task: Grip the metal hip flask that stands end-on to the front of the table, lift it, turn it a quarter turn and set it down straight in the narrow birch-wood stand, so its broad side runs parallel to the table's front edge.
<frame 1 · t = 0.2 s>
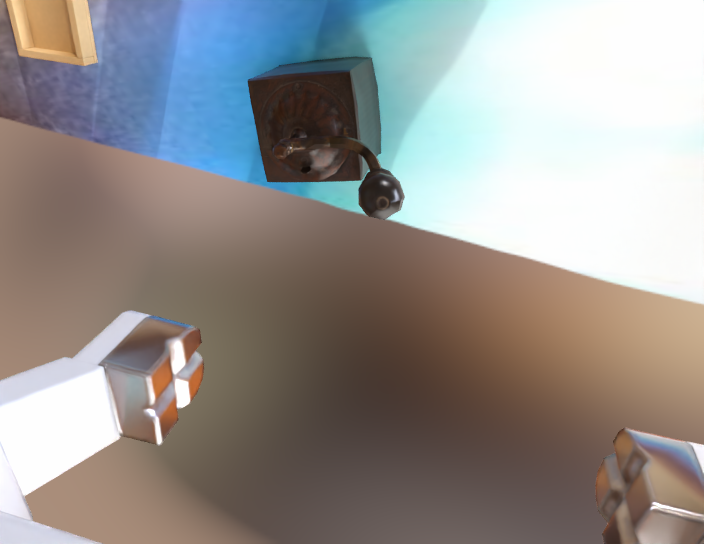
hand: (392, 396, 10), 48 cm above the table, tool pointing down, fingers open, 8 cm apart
dark brown coffee grinder: (354, 110, 56), on the table
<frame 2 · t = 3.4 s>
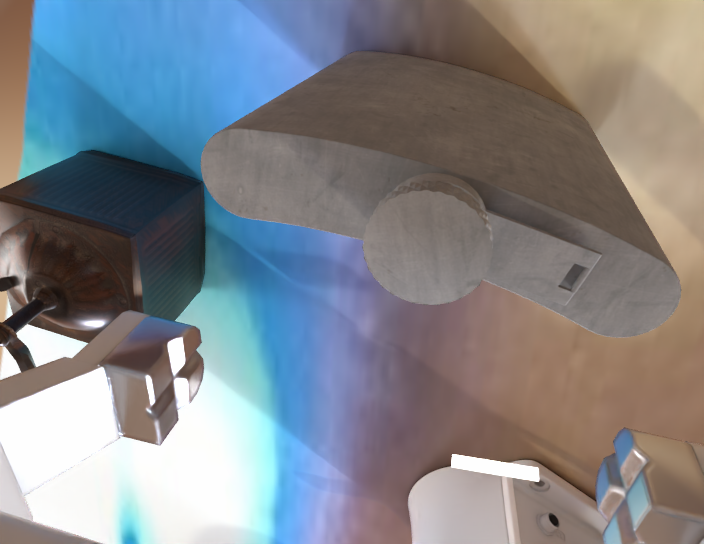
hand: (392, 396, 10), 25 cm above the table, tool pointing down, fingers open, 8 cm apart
hip flask: (462, 100, 31), on the table
dark brown coffee grinder: (146, 247, 43), on the table
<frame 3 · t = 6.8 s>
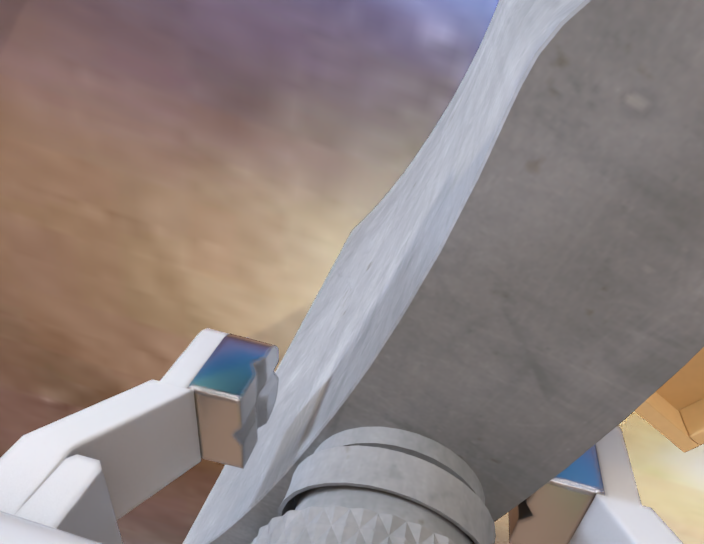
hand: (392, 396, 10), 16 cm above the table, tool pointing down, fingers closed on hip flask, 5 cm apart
hip flask: (455, 149, 23), on the table, touching gripper
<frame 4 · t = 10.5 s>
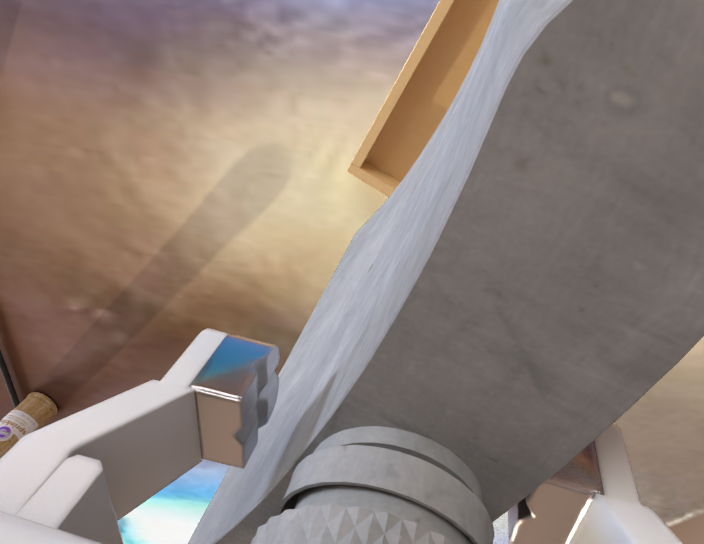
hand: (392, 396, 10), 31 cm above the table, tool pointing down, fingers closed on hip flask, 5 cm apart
hip flask: (457, 151, 23), point 15 cm above the table, touching gripper
flask stand: (472, 74, 35), on the table
sprinkles bottle: (44, 401, 70), on the table
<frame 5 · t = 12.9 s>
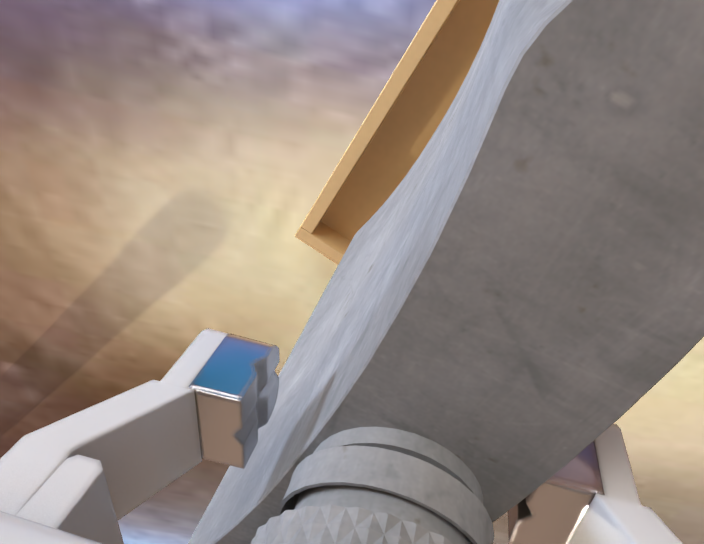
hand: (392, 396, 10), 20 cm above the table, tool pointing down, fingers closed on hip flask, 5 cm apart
hip flask: (457, 151, 23), point 4 cm above the table, touching gripper
flask stand: (462, 123, 26), on the table
when the fingers open (16 cm above the table, at t = 14.5 s): hip flask stays where it is, resting on flask stand.
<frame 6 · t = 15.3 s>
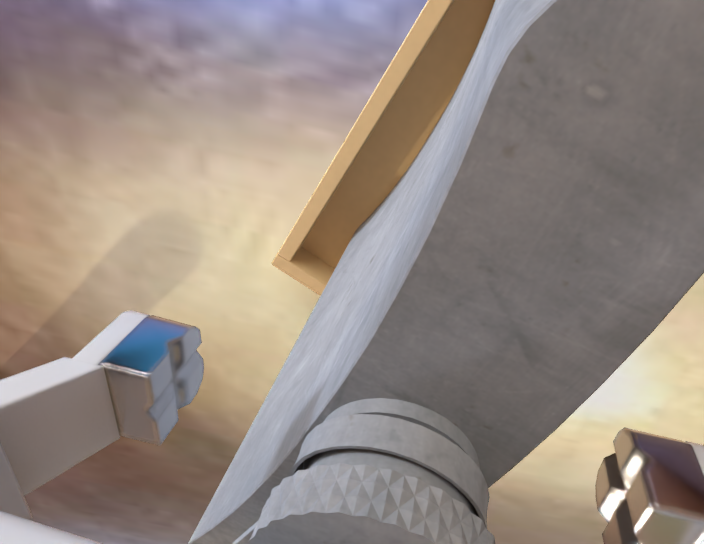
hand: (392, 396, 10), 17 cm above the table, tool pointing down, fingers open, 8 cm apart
hip flask: (455, 149, 24), resting on flask stand
flask stand: (454, 142, 24), on the table
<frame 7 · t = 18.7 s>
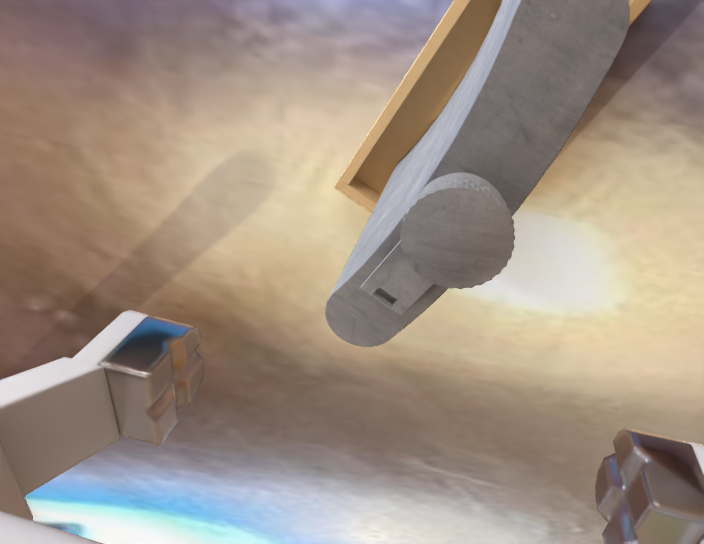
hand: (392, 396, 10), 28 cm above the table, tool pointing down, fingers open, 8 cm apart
hip flask: (474, 98, 33), resting on flask stand
flask stand: (473, 94, 33), on the table
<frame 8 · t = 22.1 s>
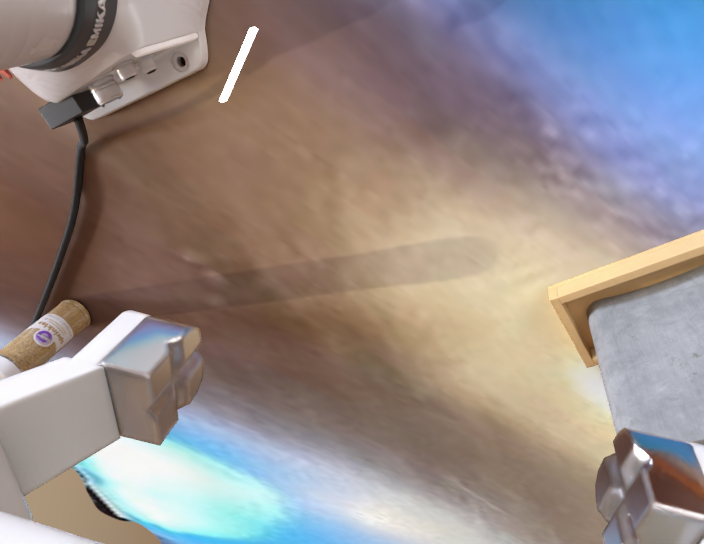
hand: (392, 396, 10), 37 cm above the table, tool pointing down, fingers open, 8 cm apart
hip flask: (678, 287, 45), resting on flask stand
flask stand: (678, 283, 45), on the table
sprinkles bottle: (77, 311, 67), on the table
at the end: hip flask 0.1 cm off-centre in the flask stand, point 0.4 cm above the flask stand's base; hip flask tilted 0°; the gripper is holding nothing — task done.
